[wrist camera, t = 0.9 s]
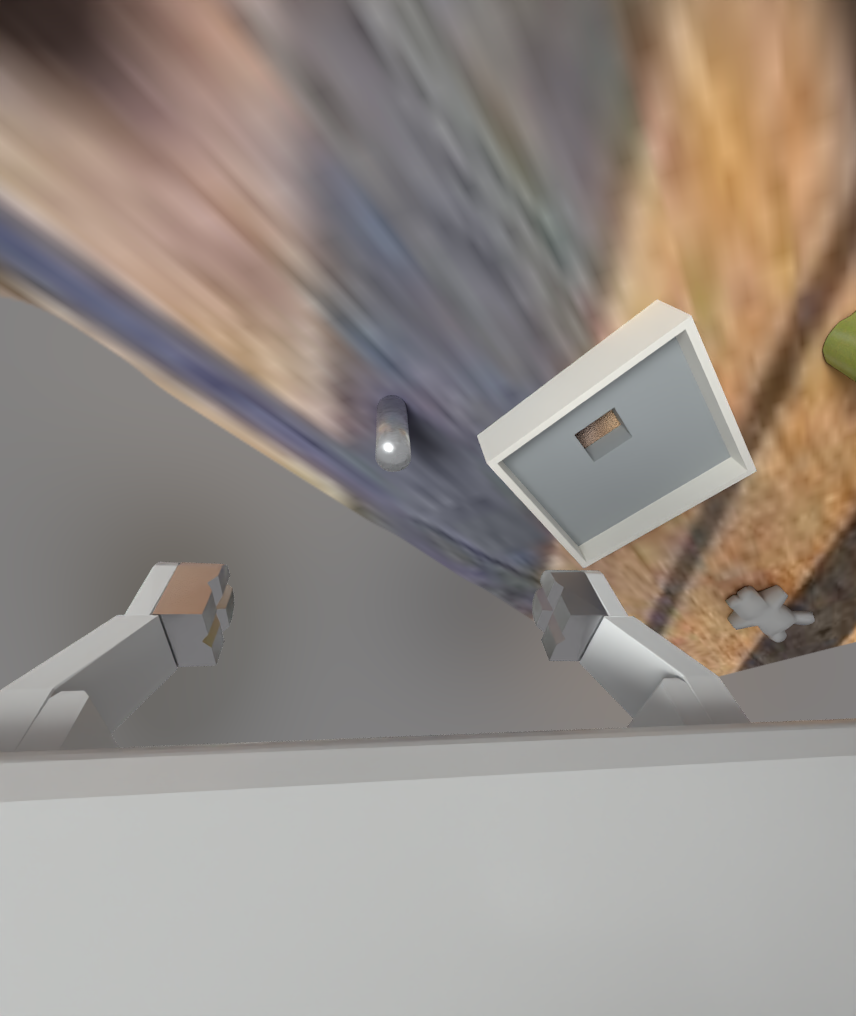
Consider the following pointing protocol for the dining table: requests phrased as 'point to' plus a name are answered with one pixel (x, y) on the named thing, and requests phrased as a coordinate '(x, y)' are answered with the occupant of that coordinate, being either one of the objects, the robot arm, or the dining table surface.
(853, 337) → the plant pot
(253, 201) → the dining table surface
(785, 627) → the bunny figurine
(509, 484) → the box
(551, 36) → the dining table surface
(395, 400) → the peg
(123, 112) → the dining table surface
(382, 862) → the robot arm
